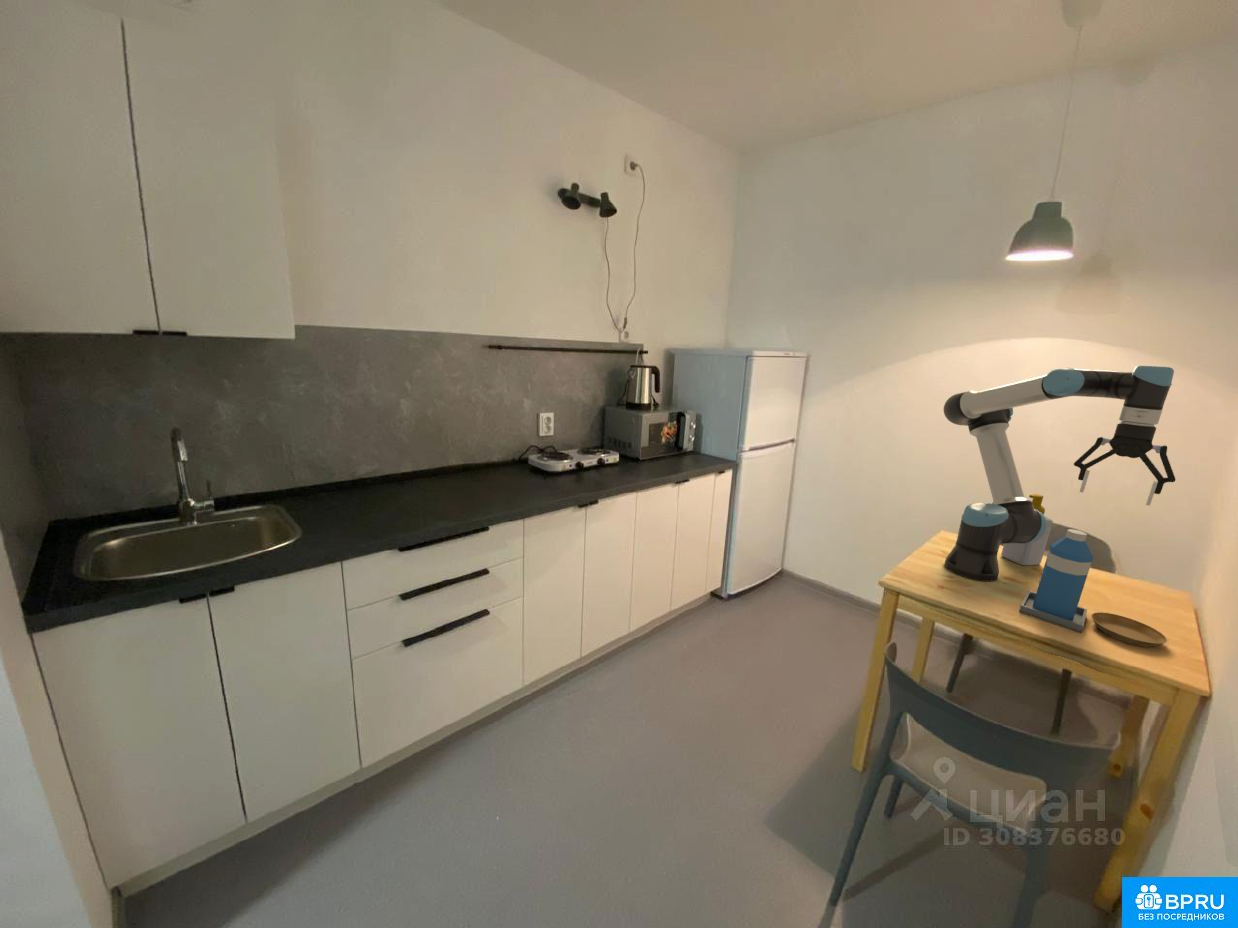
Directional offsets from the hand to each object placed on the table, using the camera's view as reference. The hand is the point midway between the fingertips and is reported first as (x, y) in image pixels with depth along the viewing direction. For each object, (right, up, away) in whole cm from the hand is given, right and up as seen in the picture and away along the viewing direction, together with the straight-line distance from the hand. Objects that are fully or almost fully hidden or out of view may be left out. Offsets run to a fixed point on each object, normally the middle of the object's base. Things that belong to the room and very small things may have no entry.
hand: (1113, 497), depth 140 cm
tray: (-14, -34, +4) cm, 37 cm away
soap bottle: (+7, -26, +41) cm, 49 cm away
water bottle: (-14, -34, +4) cm, 37 cm away
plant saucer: (-1, -38, -4) cm, 38 cm away
